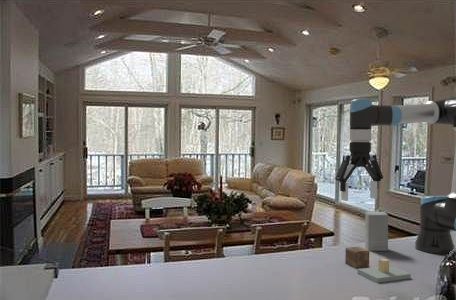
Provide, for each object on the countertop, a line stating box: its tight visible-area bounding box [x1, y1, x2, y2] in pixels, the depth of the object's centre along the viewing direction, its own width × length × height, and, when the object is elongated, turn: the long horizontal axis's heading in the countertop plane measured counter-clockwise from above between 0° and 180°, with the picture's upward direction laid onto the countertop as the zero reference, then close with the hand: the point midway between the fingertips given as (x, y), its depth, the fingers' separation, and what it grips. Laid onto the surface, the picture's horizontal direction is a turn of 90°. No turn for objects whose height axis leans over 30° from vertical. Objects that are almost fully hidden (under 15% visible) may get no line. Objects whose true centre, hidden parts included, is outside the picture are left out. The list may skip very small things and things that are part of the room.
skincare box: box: [364, 211, 389, 252], centre depth 178 cm, size 8×7×16 cm
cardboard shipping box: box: [344, 245, 370, 269], centre depth 156 cm, size 6×6×6 cm
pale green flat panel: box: [356, 258, 412, 284], centre depth 144 cm, size 14×10×6 cm
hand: (359, 199), depth 154 cm, fingers open, 13 cm apart
